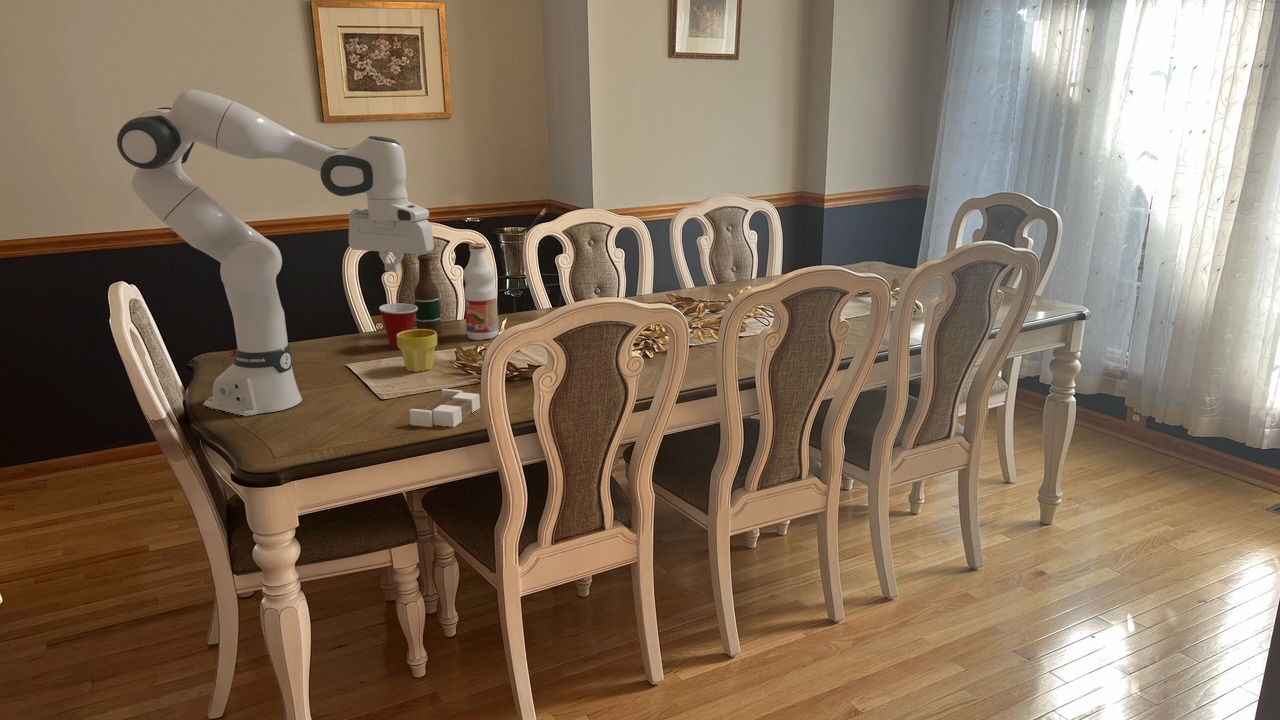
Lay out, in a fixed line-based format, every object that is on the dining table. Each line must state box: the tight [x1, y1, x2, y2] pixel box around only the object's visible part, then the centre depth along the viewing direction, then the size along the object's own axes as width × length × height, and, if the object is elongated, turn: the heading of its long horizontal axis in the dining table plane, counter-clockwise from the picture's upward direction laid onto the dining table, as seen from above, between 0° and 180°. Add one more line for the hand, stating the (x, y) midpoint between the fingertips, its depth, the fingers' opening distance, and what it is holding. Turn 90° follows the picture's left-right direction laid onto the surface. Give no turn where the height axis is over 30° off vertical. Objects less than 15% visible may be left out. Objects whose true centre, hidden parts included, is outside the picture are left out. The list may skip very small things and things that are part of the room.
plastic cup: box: [378, 302, 418, 350], centre depth 268 cm, size 11×11×12 cm
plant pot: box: [397, 328, 438, 373], centre depth 247 cm, size 10×10×10 cm
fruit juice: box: [463, 242, 499, 341], centre depth 275 cm, size 9×9×28 cm
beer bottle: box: [414, 254, 442, 335], centre depth 281 cm, size 8×8×24 cm
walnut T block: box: [422, 395, 471, 421], centre depth 213 cm, size 8×11×3 cm
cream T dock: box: [409, 388, 481, 428], centre depth 213 cm, size 10×16×4 cm, turn 163°
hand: (392, 271), depth 213 cm, fingers closed
